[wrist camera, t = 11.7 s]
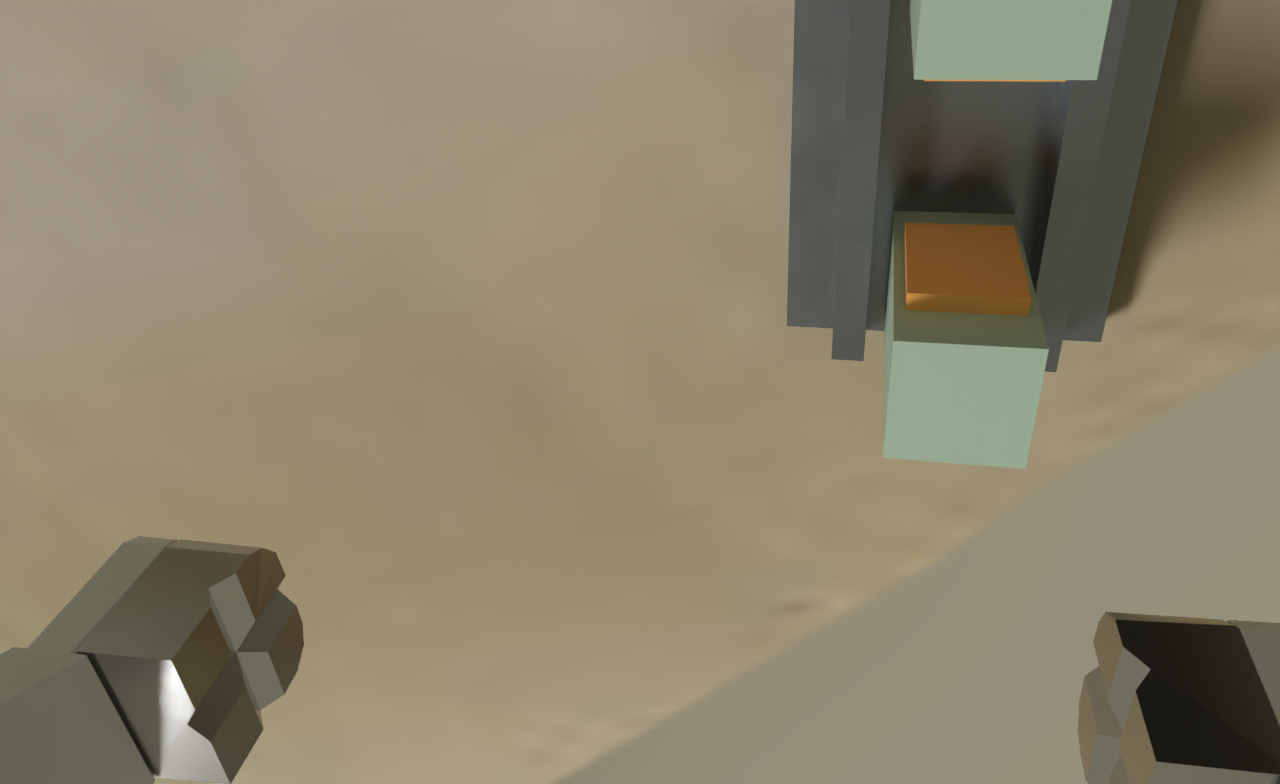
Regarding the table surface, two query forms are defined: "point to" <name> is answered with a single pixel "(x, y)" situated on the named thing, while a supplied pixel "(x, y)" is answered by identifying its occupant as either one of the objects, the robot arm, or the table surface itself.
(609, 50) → the table surface
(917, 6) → the pale green block
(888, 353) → the green and orange block
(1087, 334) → the rail
